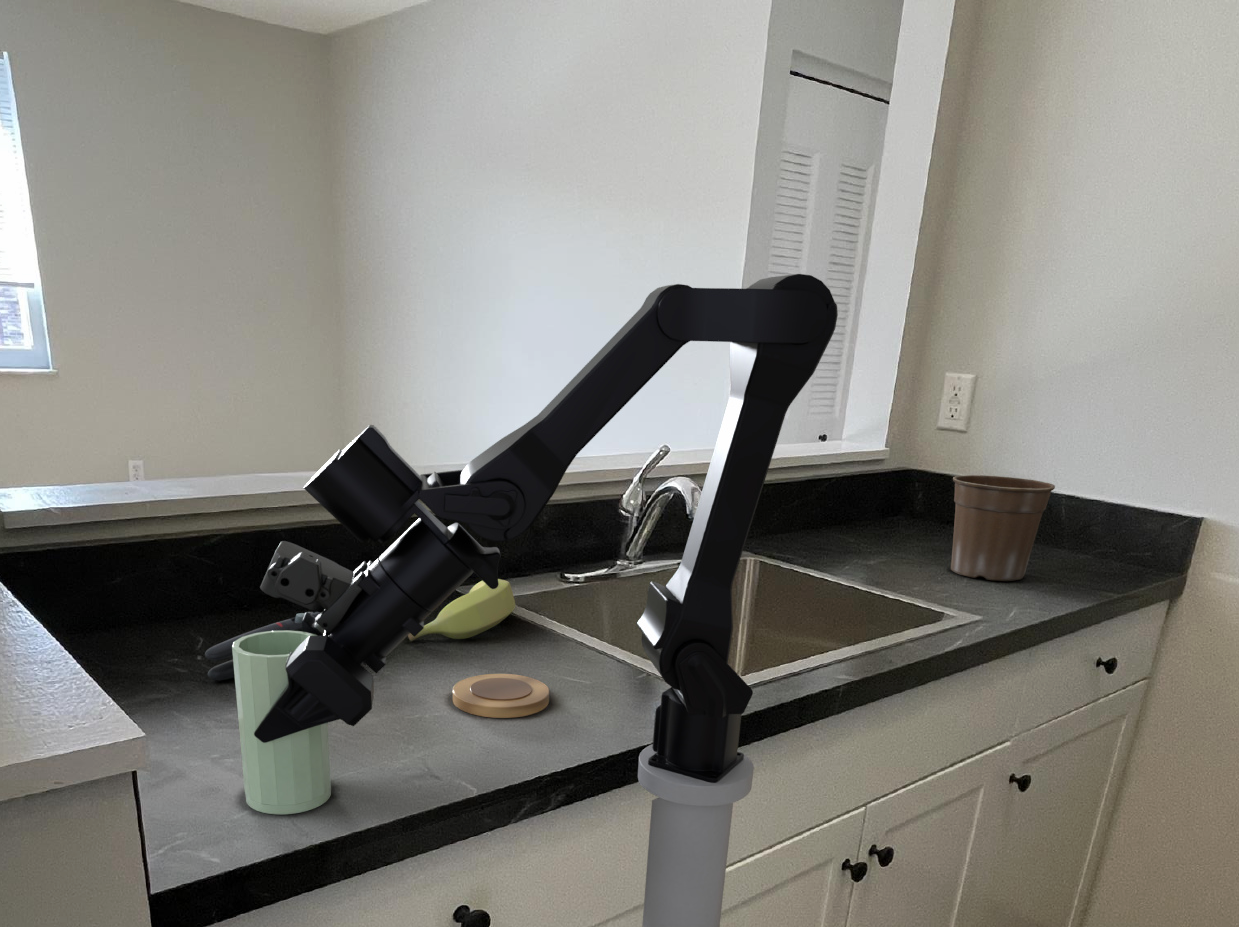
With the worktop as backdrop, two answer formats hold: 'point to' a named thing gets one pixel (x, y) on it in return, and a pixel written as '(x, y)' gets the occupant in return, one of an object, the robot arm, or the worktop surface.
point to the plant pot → (996, 525)
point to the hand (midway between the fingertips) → (265, 720)
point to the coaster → (500, 695)
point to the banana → (472, 612)
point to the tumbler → (288, 765)
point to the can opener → (225, 648)
